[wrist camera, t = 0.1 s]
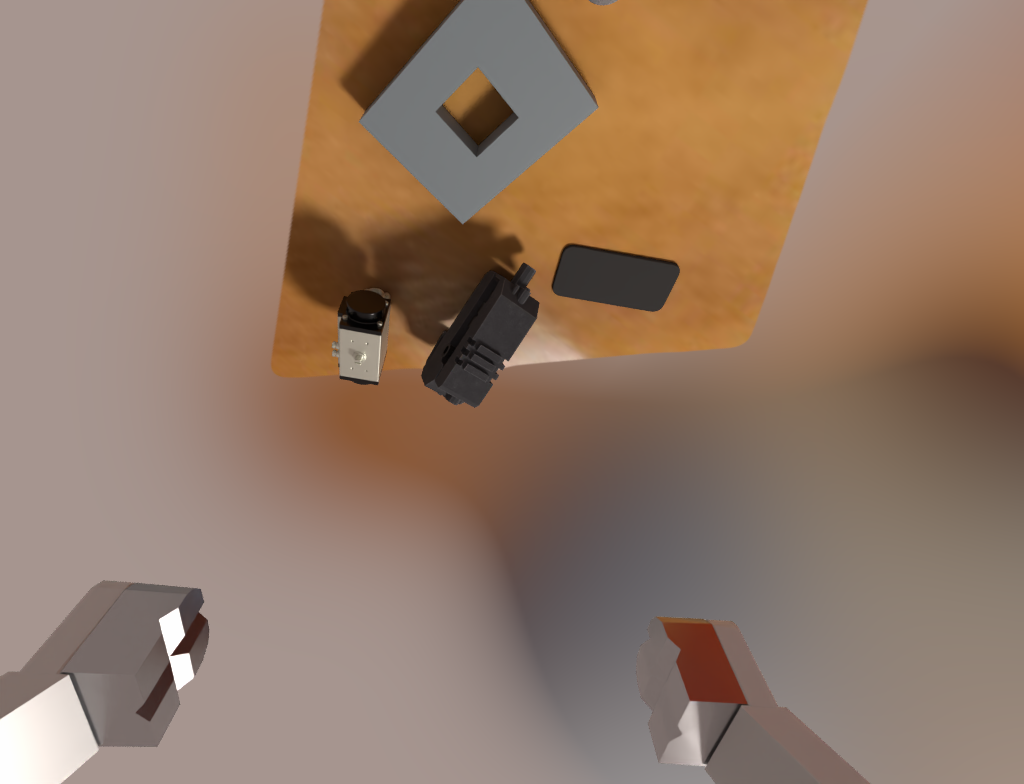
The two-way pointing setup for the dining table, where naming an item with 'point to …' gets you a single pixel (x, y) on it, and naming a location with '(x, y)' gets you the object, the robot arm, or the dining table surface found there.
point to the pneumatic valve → (363, 335)
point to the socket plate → (515, 75)
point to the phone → (614, 278)
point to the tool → (482, 338)
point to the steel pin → (602, 2)
